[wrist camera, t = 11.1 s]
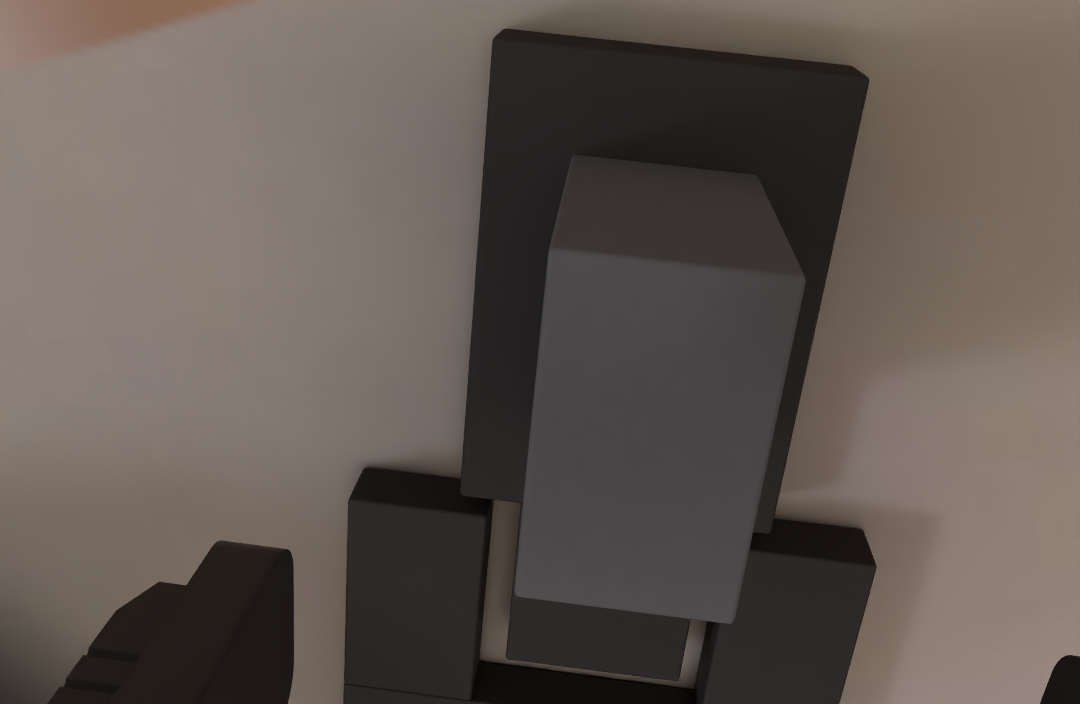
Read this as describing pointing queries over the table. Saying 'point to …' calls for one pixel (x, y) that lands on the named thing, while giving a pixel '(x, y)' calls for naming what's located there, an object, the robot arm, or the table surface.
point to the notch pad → (559, 698)
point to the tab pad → (523, 230)
